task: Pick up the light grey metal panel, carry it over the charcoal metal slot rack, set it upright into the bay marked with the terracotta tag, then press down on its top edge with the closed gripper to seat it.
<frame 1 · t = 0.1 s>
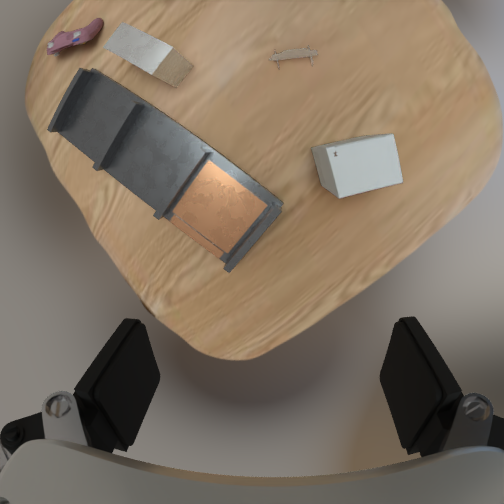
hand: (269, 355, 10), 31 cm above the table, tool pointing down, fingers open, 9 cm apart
slot rack: (154, 157, 38), on the table
car cutout: (263, 63, 33), on the table
video game controller: (81, 40, 30), on the table
small box: (342, 159, 36), on the table
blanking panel: (162, 63, 32), on the table
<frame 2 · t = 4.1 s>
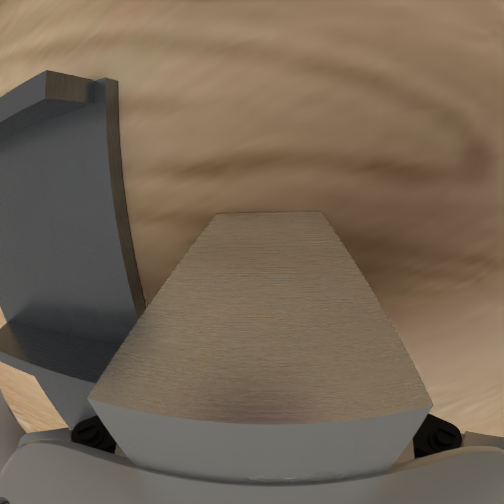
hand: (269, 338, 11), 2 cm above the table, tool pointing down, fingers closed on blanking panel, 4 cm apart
slot rack: (101, 396, 16), on the table
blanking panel: (270, 312, 12), on the table, touching gripper
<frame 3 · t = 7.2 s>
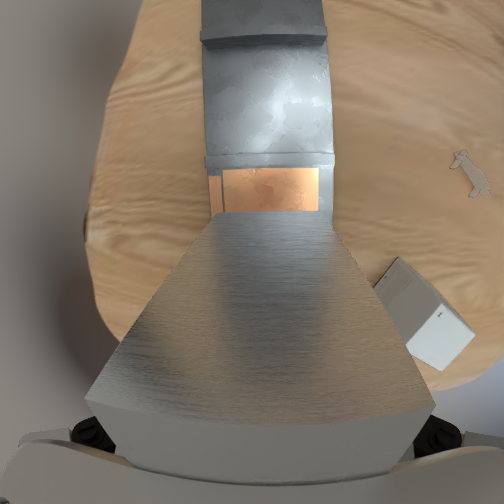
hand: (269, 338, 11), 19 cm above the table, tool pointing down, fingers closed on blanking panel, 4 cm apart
slot rack: (267, 98, 24), on the table
car cutout: (445, 146, 25), on the table
small box: (403, 289, 31), on the table
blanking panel: (270, 312, 12), point 18 cm above the table, touching gripper
when the fingers open (4 cm above the table, at t = 10.4 s): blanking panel stays where it is, resting on slot rack.
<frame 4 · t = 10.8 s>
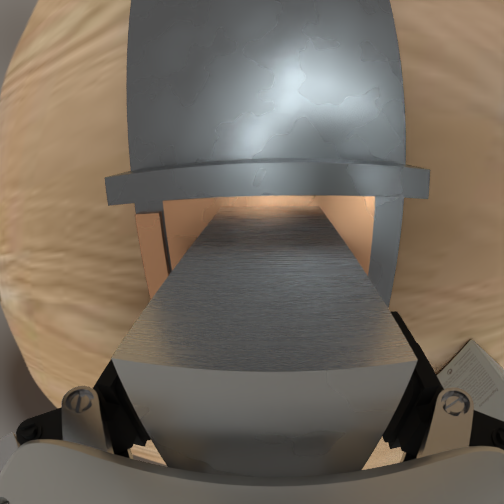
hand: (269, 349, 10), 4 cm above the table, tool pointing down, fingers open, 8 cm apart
slot rack: (262, 42, 10), on the table
small box: (464, 375, 16), on the table
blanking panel: (271, 302, 13), point 1 cm above the table, touching slot rack
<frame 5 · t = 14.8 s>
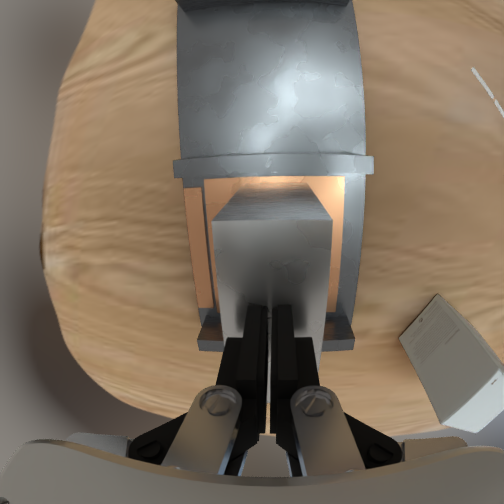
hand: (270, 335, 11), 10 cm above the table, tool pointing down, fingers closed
slot rack: (269, 74, 16), on the table
small box: (437, 329, 22), on the table
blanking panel: (276, 250, 19), point 1 cm above the table, touching gripper, slot rack
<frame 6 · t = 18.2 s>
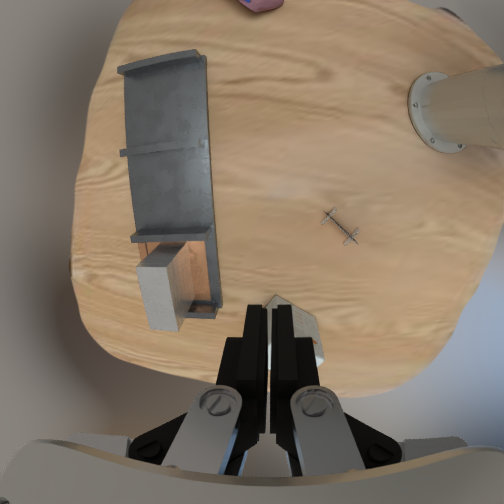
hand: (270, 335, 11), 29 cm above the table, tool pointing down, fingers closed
slot rack: (171, 188, 38), on the table
small box: (286, 317, 45), on the table
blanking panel: (178, 270, 42), point 1 cm above the table, touching slot rack
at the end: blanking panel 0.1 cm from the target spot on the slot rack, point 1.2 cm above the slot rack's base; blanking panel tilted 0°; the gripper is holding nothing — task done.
